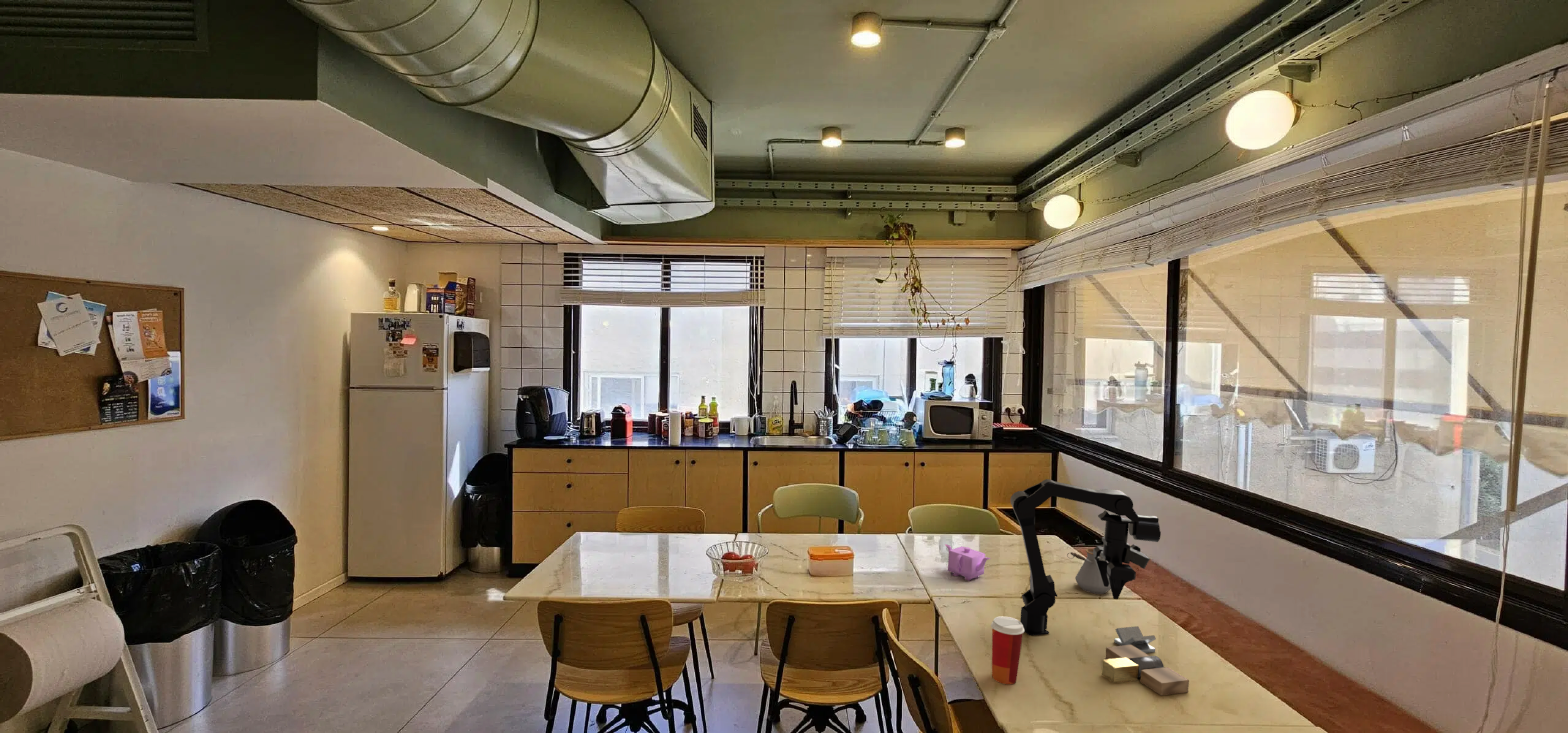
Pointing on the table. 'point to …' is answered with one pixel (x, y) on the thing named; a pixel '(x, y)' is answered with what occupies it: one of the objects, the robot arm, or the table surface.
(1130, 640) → the v block
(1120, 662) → the block
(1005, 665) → the paper cup
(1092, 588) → the coffee pot
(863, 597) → the table surface
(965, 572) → the teapot
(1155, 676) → the beam
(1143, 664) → the dark grey rounded block
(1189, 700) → the table surface
